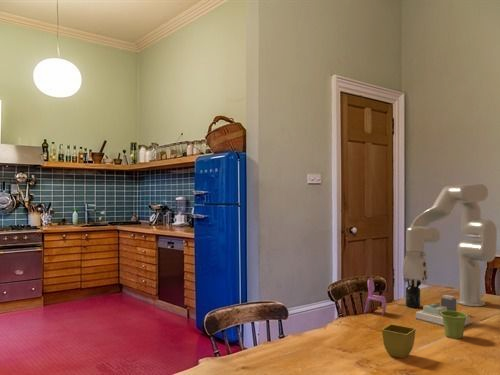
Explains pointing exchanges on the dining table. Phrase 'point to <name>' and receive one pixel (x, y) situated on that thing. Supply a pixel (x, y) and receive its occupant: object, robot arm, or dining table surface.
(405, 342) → the flower pot
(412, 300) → the supplement bottle
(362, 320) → the dining table surface
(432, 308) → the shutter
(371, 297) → the toy chair
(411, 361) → the dining table surface
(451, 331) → the plant pot
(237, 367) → the dining table surface
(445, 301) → the plug
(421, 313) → the socket plate
